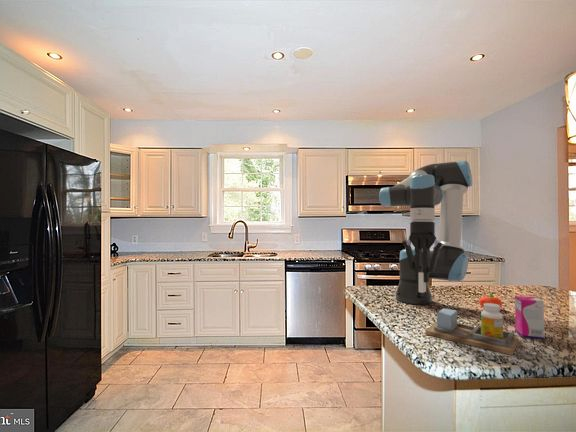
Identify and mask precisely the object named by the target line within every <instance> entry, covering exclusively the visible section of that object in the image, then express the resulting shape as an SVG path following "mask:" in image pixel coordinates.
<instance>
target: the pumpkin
mask: <svg viewBox="0 0 576 432" xmlns="http://www.w3.org/2000/svg"><path fill="white" fill-rule="evenodd" d="M478 301H479V305H480V306H481V307H482V308H483V309H484V303H493V304H497V305H500V309H502V306H503V302H502V300H501V299H500V298H499V297H497V296H496V297H495V296H494V294H493V293H492V292H491V293H489V296H482V297H480V299H479V300H478Z"/></svg>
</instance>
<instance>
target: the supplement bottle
mask: <svg viewBox="0 0 576 432" xmlns="http://www.w3.org/2000/svg"><path fill="white" fill-rule="evenodd" d="M500 311H501V308H500V305H497V304H493V303H484V308H483V310H481V312H480V326H481V335H484V336H489V337H493V338H498V339H503V331H504V316H503V314H502V313H501V312H500Z"/></svg>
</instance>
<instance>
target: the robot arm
mask: <svg viewBox="0 0 576 432" xmlns="http://www.w3.org/2000/svg"><path fill="white" fill-rule="evenodd" d="M471 170H472V169H471V167H470V163H469V162H468V161H467V160H456V161H448V162H439V163H431V164H426V165H424V166H422V167H420V168H417V169H415V170H414V171H412V172H411V173H410V174H409V176H408V177H406V178H405V179H403V180H402V181H400V182H398V183H396V184H395V185H393V186H387V187H381V188H380V191H379V193H378V198H379V199H378V200H379V203H380V205H381V206H383V207H391V208H392V207H406V206H407V207H409V209H410V210H409V211H410V212H409V213H410V215H409V218H410V219H409V220H410V223H409V224H410V225H409V237H408V238H407V239H405V240H403V241H402V242H401V244H402V245H403V247H404V249H402V250H400V252H399V259H398V261H399V283H398V285H397V288H396V292H395V300H396V301H399V302H401V303H405V304H412V305H429V304H432V303H433V295H432V292H431V289H430V286H429V282H430V279H432V280H440V281H441V280H442V281H448V282H462V281H463V280H465V277H466V275H467V272H468V266H469V255H468V254H467V253H466V252H465V249H464V248H463V247H462V246H461V242H462V241H461V239H462V223H463V222H462V221H463V206H464V194H466V193H467V192H468V190H469V189H468V187H469V188H470V187H472V186H473V176H472V171H471ZM438 205H440V211H439V226H438V237H436V233H435V232H436V228H435V227H436V224H435V222H434V221H435V218H436V217H435V216H436V215H435V214H436V212H435V206H438ZM433 244H434V245H433ZM411 245H412V246H413V248H412V246H411ZM432 246H433V250H431V247H432Z"/></svg>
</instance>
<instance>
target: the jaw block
mask: <svg viewBox="0 0 576 432" xmlns="http://www.w3.org/2000/svg"><path fill="white" fill-rule="evenodd" d="M436 322H437V327H438V328H443V329H447V330H452V331H453V330H454V329H455V328H456V327H457V323H458V310H456V309H450V308H442V309H440V310H439V311H438V312H436Z"/></svg>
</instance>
